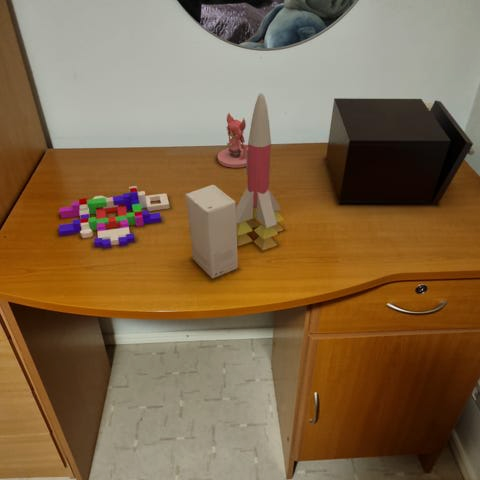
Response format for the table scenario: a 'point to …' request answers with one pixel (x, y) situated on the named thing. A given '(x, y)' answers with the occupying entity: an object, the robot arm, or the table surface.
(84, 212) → the building block set
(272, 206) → the toy rocket
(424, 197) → the oven
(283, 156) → the table surface
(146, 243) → the table surface
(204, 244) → the cosmetic box
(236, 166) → the toy figure
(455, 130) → the oven door
